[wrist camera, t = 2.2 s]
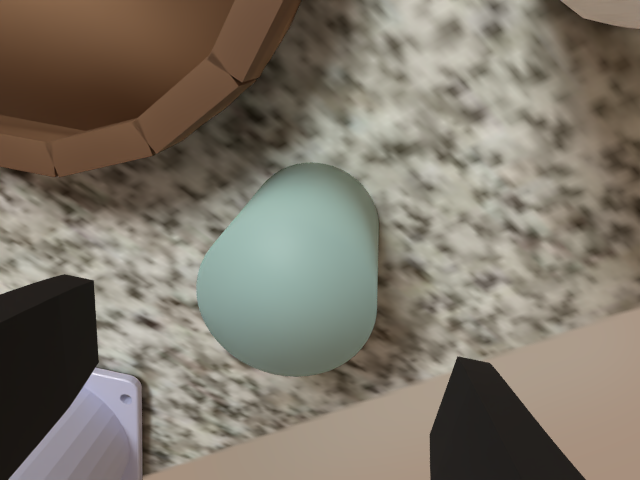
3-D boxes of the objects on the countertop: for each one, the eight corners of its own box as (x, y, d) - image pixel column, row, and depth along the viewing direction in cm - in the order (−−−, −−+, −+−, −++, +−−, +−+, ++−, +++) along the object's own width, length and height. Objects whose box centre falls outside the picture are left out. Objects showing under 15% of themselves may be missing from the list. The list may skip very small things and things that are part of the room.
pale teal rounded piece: (364, 294, 16) (357, 392, 12) (245, 270, 17) (192, 356, 12) (392, 176, 14) (395, 238, 10) (257, 151, 15) (200, 200, 10)
